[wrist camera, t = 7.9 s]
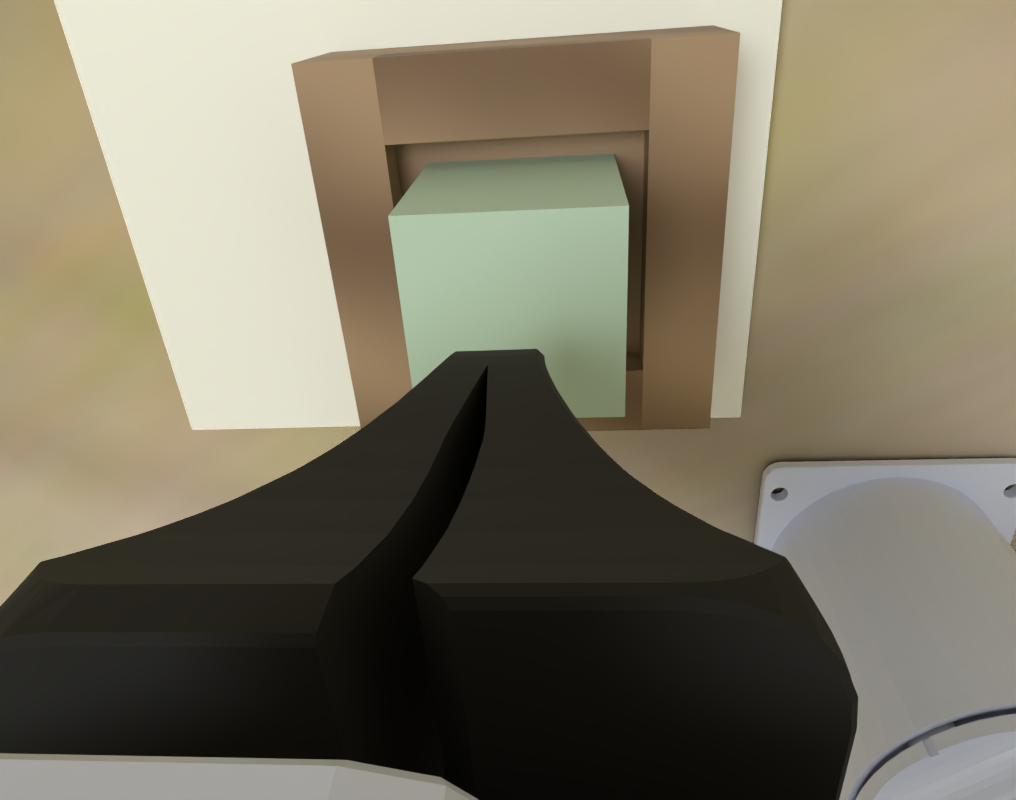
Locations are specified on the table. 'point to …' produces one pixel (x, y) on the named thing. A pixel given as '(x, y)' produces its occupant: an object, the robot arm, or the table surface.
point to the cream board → (289, 182)
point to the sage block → (519, 269)
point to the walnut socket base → (536, 133)
